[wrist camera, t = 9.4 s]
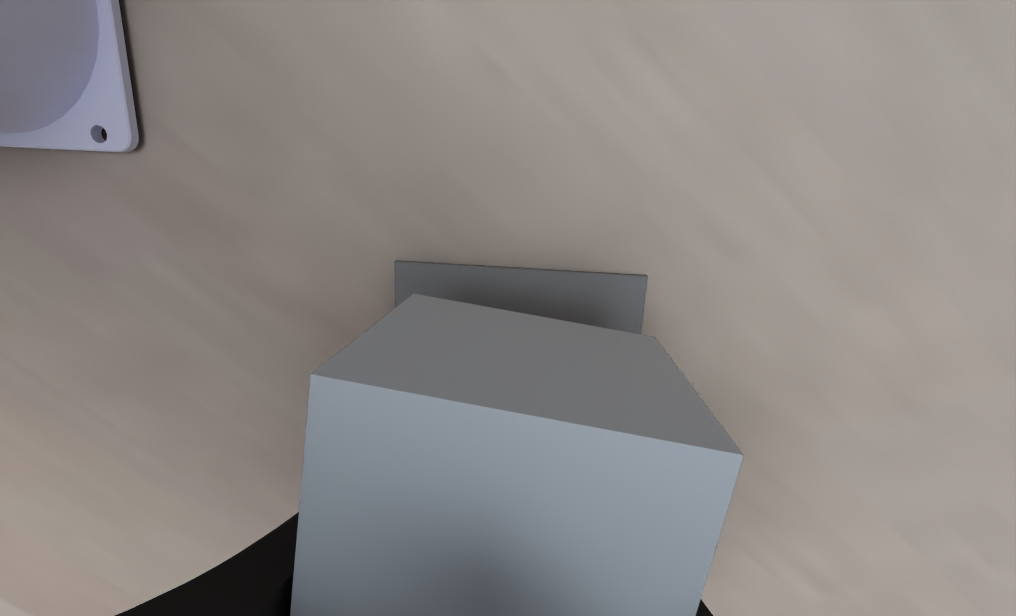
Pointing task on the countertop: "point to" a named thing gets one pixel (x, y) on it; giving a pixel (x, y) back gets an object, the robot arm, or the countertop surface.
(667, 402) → the pale grey rectangular box
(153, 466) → the countertop surface
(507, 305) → the thin grey panel
